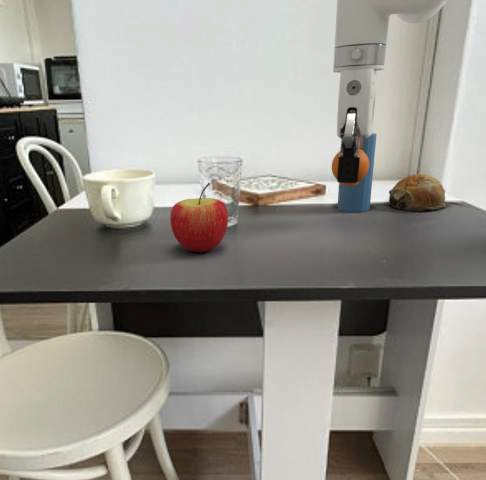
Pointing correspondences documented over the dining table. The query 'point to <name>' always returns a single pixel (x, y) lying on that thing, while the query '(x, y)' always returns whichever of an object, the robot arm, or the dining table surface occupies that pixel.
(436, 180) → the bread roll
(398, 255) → the dining table surface
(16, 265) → the dining table surface
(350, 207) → the bottle
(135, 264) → the dining table surface
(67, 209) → the dining table surface
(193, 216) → the apple
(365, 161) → the orange
